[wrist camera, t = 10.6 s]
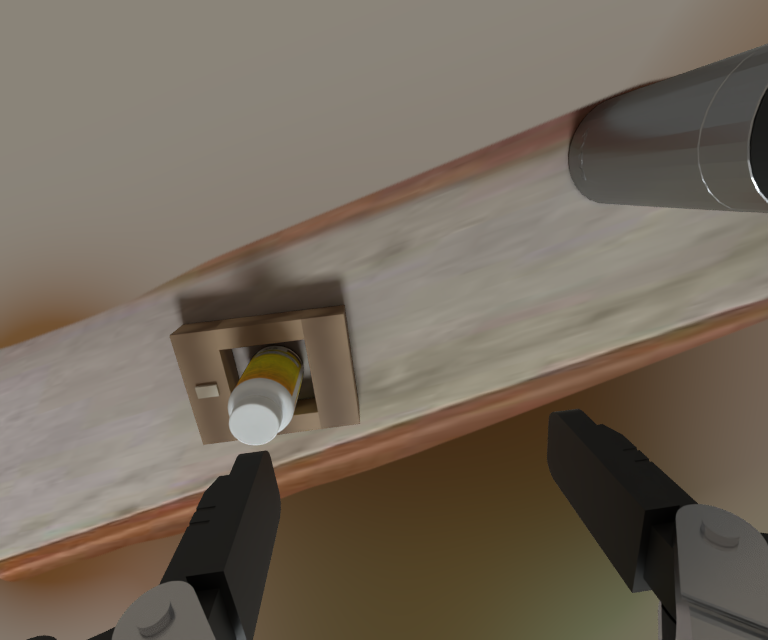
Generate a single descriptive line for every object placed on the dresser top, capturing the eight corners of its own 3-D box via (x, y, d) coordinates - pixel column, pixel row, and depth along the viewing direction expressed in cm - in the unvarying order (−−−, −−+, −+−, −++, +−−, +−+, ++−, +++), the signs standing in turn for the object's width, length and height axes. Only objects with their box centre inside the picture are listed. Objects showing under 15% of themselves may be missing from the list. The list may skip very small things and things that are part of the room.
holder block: (344, 304, 38) (343, 315, 35) (359, 407, 42) (359, 425, 39) (183, 324, 38) (167, 336, 35) (213, 427, 42) (202, 446, 39)
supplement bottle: (246, 345, 39) (211, 396, 29) (301, 341, 39) (284, 391, 30) (254, 393, 41) (224, 457, 31) (307, 389, 41) (293, 451, 32)
